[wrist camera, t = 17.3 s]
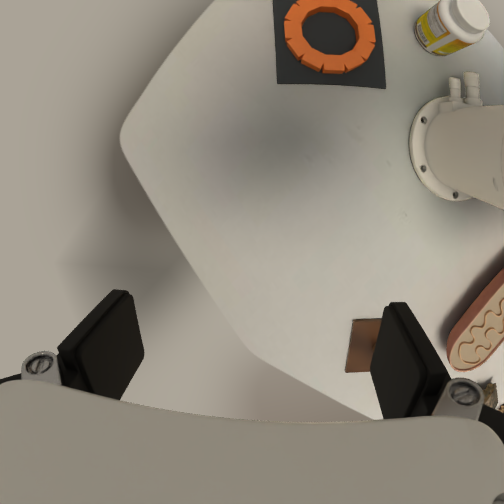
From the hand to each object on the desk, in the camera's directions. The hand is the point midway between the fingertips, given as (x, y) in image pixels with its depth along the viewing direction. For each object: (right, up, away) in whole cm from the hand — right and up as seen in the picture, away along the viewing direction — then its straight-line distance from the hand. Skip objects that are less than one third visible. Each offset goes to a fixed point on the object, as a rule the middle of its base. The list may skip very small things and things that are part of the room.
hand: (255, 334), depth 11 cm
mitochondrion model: (+35, -3, +25) cm, 43 cm away
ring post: (+18, -10, +29) cm, 36 cm away
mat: (+8, +26, +16) cm, 32 cm away
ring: (+8, +26, +16) cm, 32 cm away
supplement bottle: (+21, +28, +14) cm, 38 cm away
